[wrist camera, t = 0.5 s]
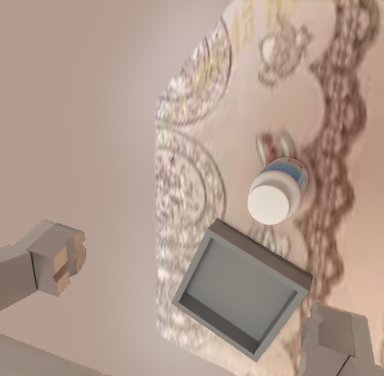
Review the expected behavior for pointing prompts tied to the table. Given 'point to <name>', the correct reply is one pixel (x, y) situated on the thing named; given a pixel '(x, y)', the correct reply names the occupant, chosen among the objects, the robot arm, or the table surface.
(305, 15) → the table surface
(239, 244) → the tray
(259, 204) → the pill bottle
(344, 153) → the table surface
